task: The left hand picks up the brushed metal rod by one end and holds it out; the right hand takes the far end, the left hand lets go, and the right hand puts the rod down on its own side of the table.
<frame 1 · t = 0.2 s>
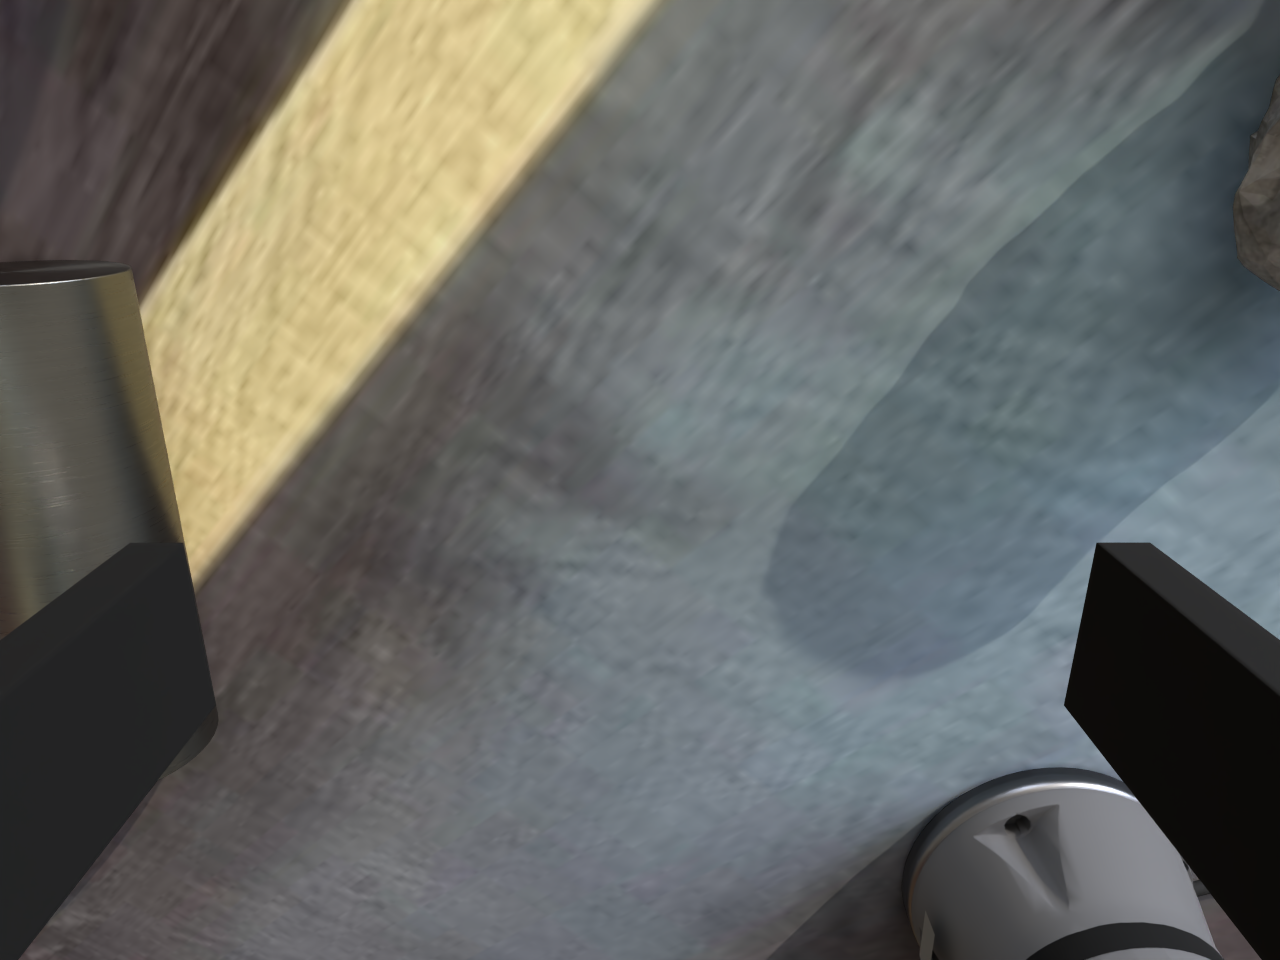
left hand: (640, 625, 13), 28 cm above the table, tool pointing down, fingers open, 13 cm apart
rod: (125, 496, 42), on the table
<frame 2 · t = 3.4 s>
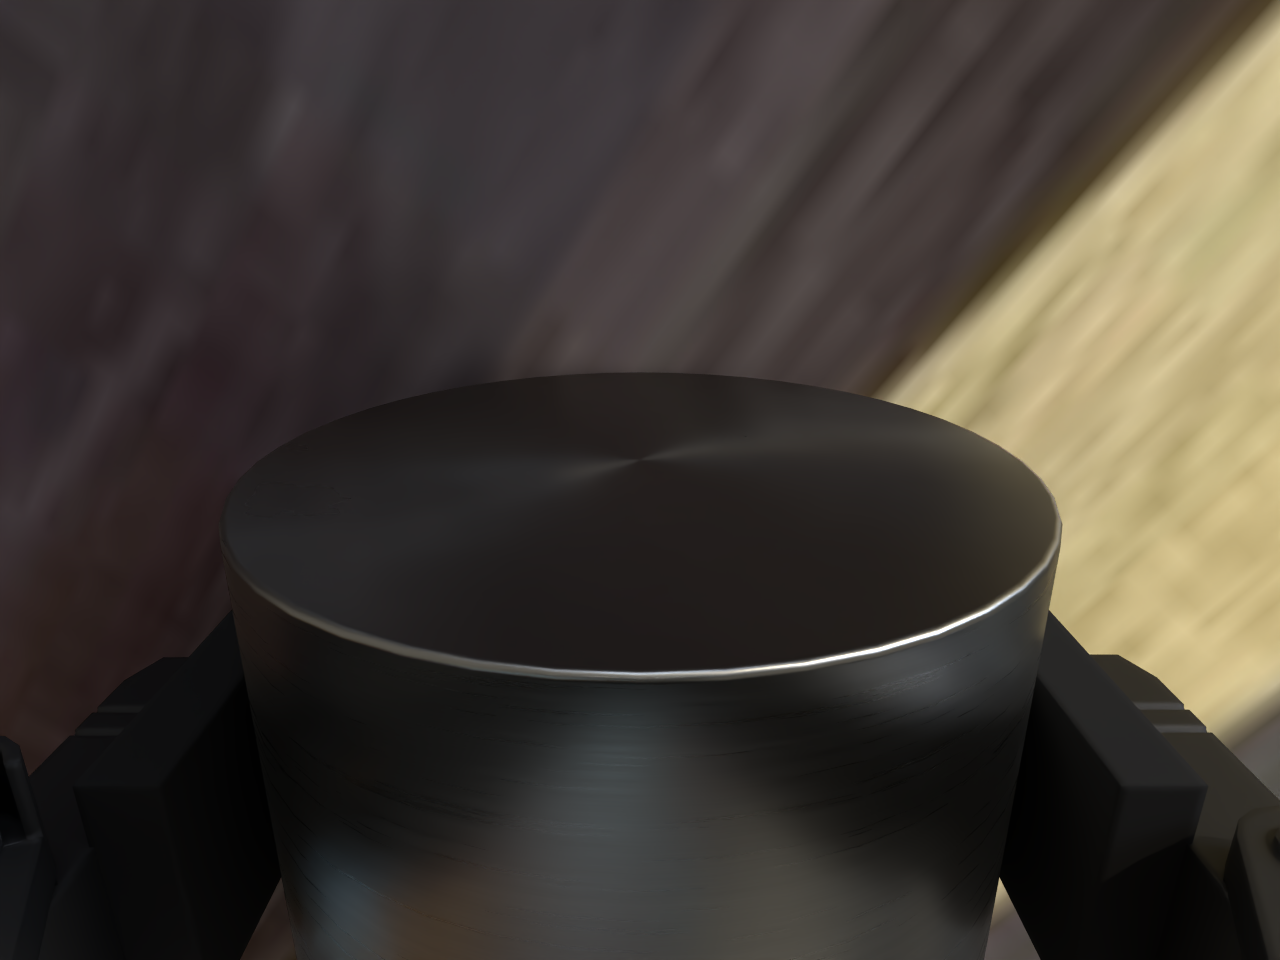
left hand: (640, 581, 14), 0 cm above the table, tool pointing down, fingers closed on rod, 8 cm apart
rod: (640, 922, 17), on the table, touching left hand
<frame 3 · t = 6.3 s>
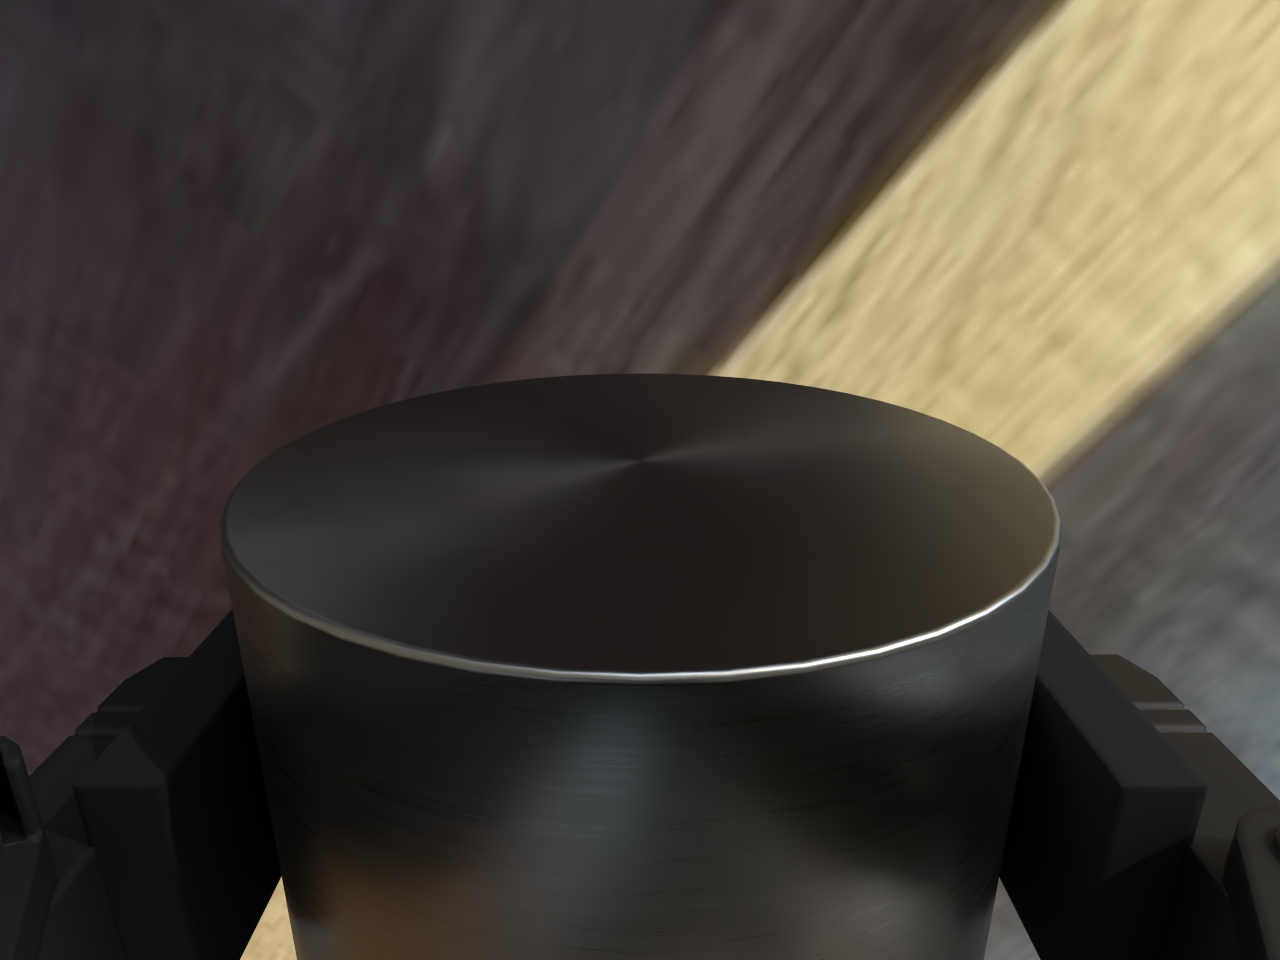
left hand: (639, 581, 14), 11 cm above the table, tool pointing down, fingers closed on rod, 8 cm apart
rod: (640, 922, 17), point 10 cm above the table, touching left hand
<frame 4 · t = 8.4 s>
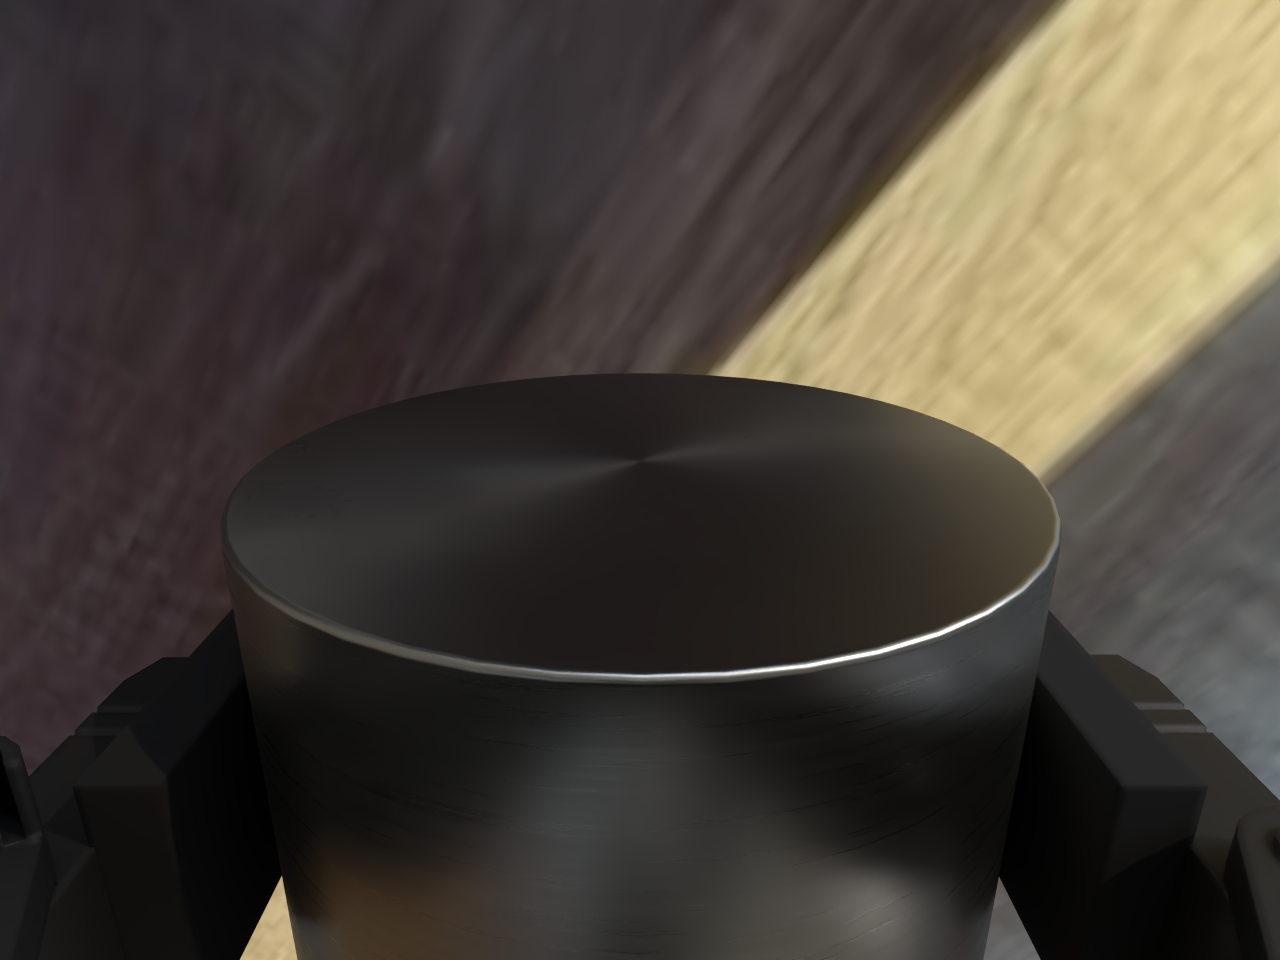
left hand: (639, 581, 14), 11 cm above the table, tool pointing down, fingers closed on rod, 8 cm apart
rod: (639, 921, 17), point 10 cm above the table, touching left hand, right hand
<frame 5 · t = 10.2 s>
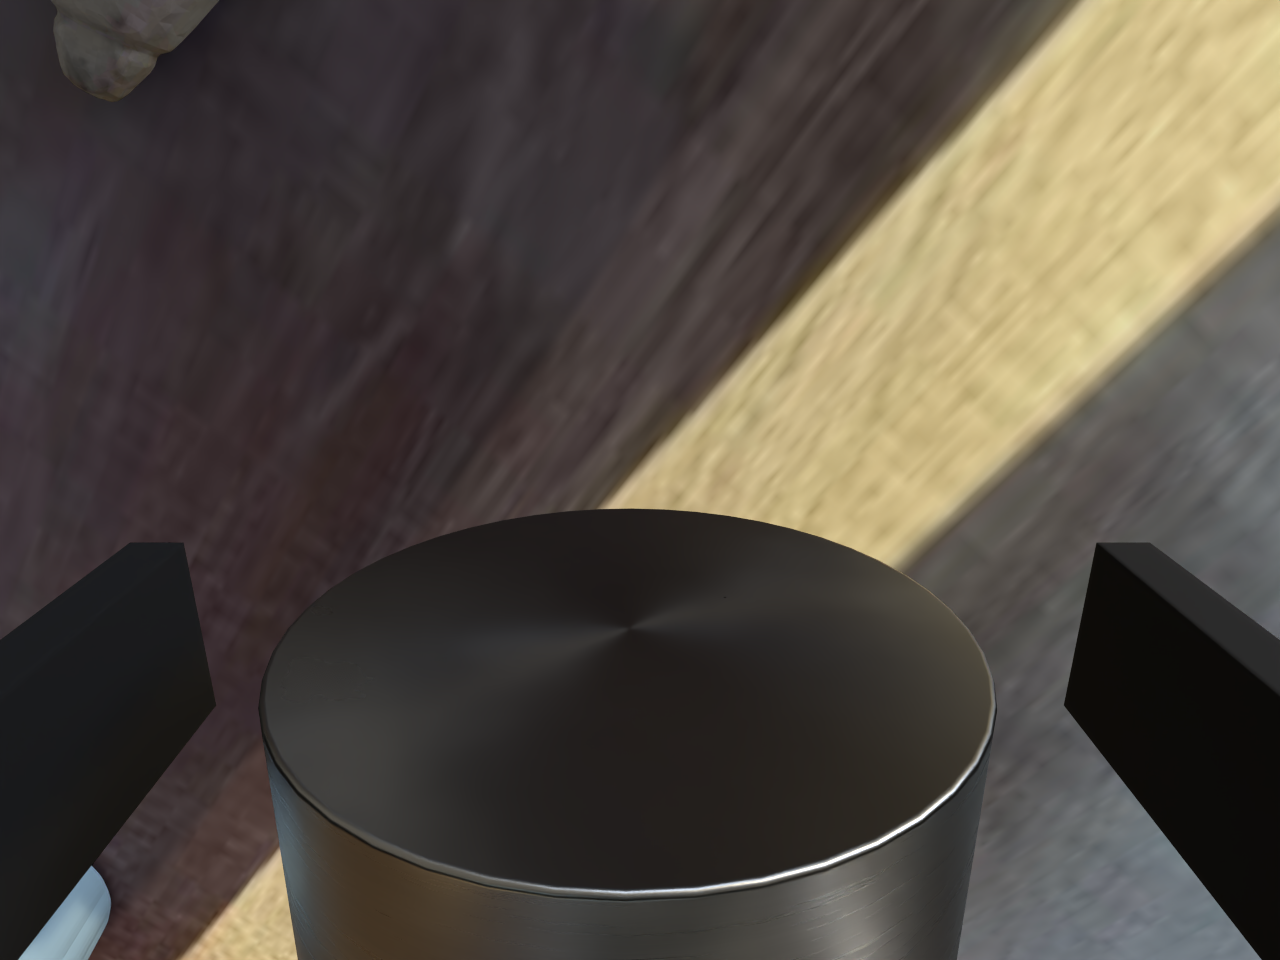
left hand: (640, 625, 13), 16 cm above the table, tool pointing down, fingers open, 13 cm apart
cup: (45, 890, 34), on the table
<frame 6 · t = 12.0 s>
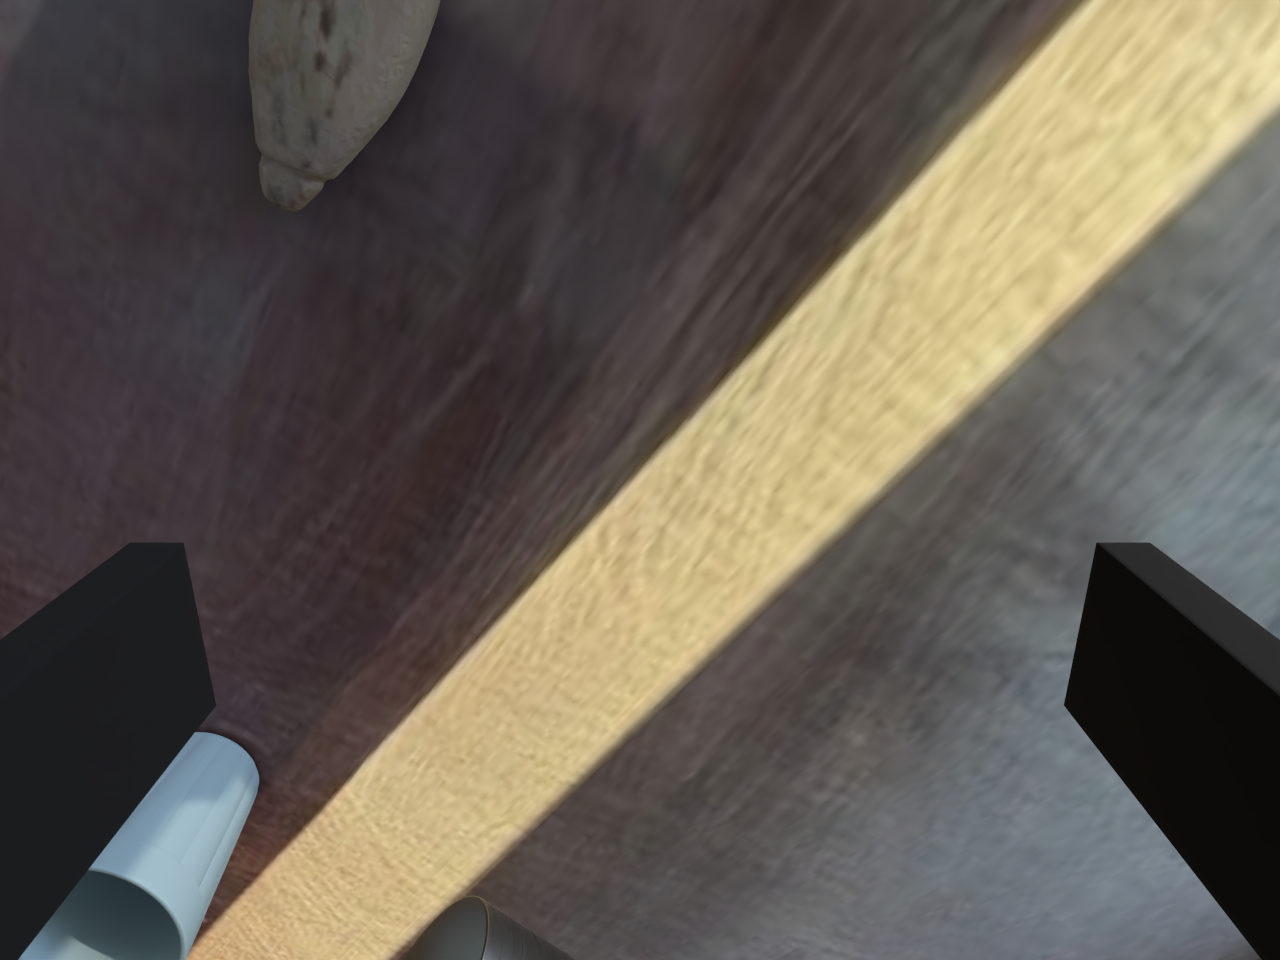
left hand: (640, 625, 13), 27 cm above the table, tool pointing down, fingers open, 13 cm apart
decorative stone: (357, 19, 34), on the table
cup: (210, 771, 46), on the table
when the right hand's fingers open (2 cm above the table, at t = 13.4 s): rod drops 1 cm, on the table.
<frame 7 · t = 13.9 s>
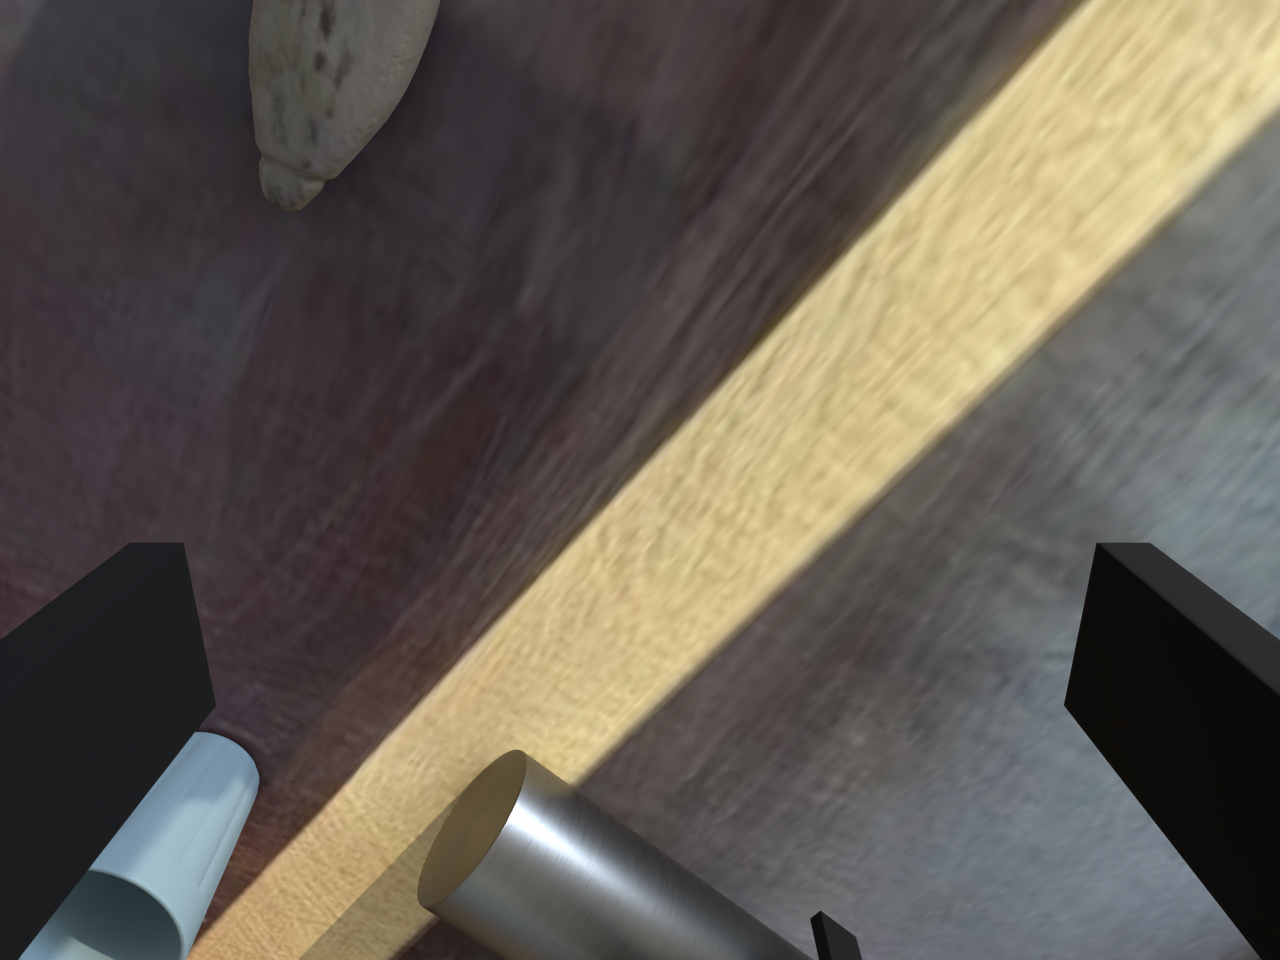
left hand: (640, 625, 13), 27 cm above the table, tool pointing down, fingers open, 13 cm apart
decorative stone: (357, 19, 34), on the table
cup: (210, 771, 46), on the table
rod: (638, 875, 49), on the table
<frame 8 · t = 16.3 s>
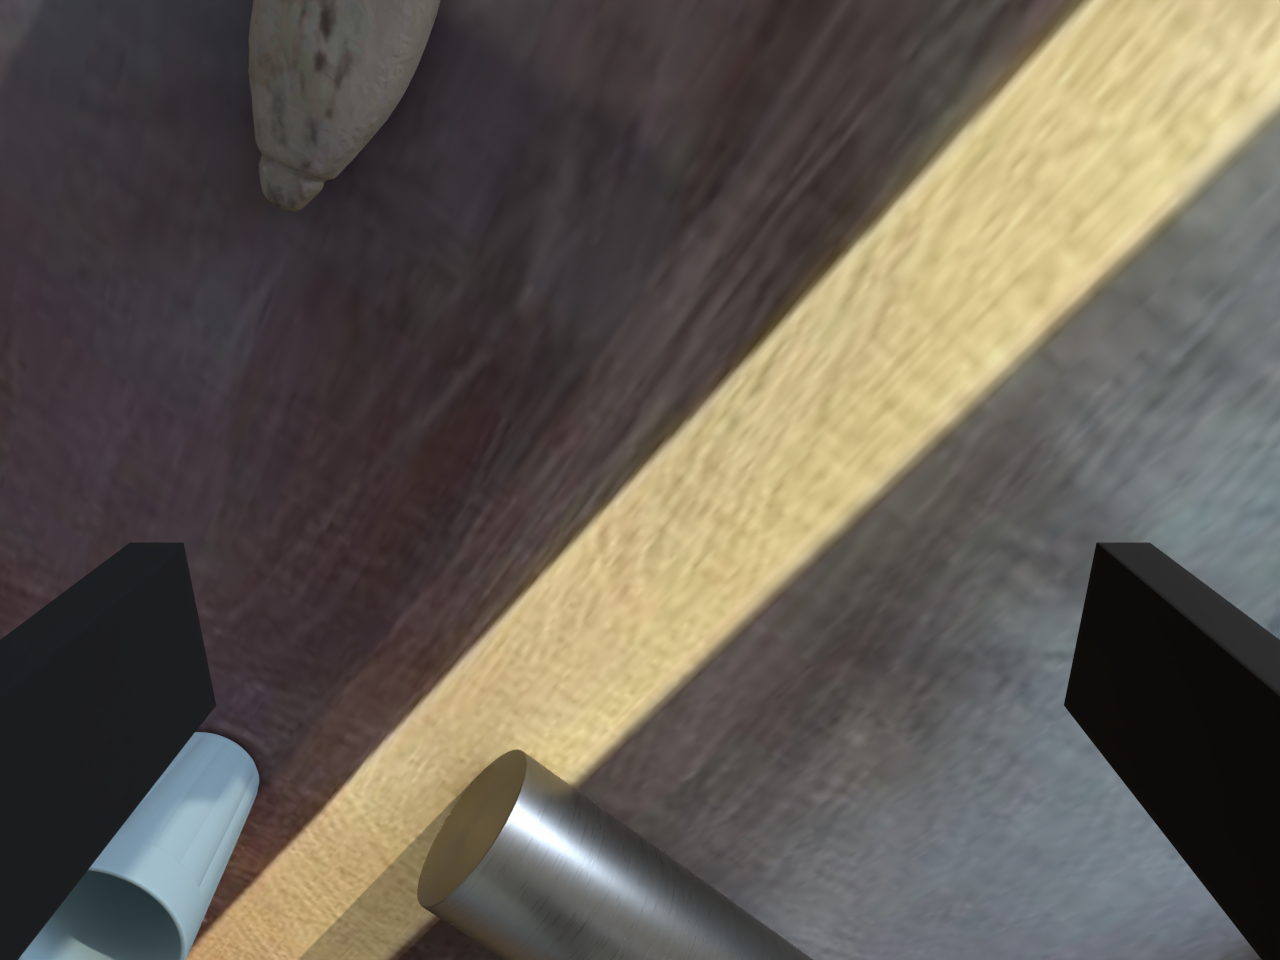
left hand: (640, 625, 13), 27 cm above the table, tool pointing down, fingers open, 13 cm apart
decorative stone: (357, 19, 34), on the table
cup: (210, 771, 46), on the table
rod: (638, 875, 49), on the table
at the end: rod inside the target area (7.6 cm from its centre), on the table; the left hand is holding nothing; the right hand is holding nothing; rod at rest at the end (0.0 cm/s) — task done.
